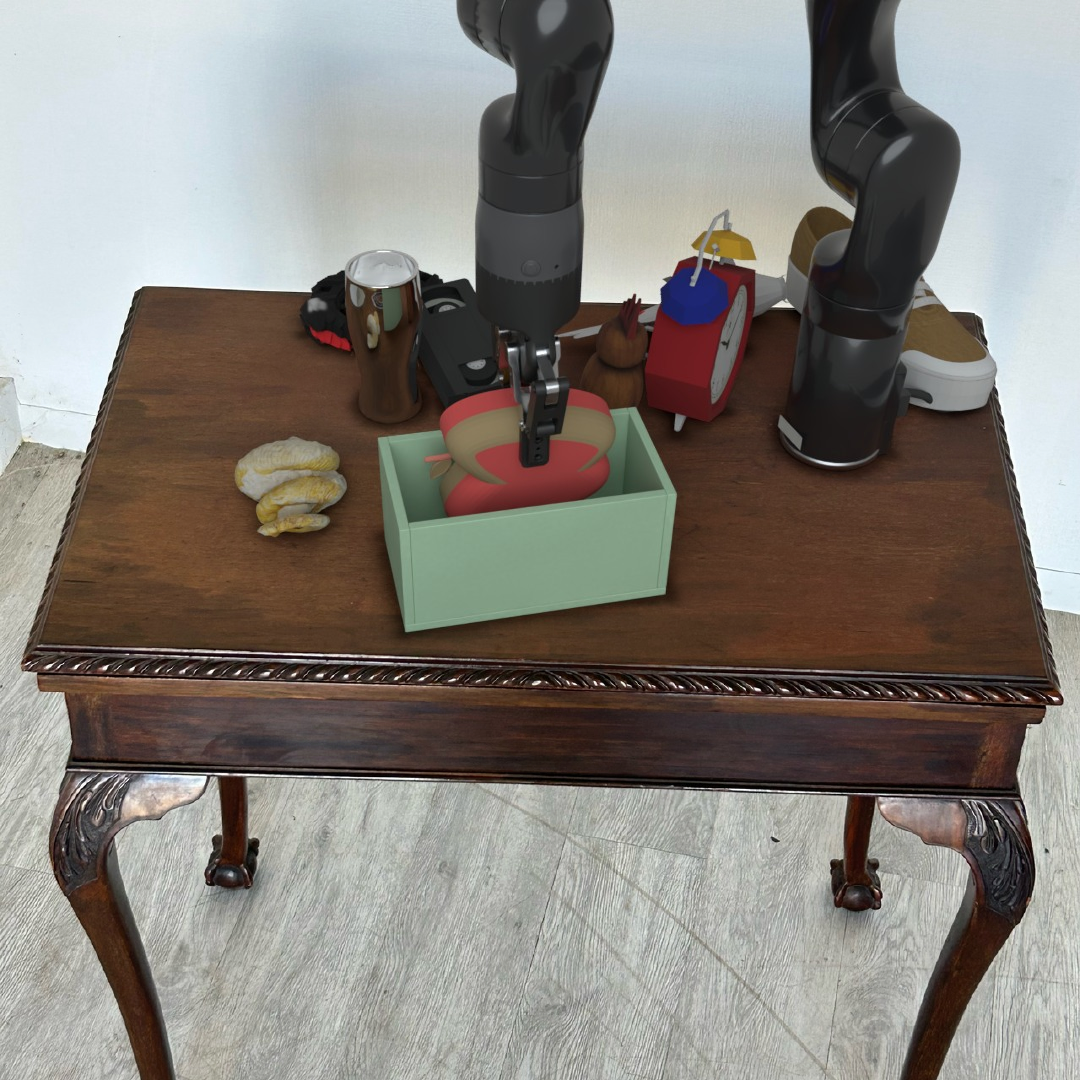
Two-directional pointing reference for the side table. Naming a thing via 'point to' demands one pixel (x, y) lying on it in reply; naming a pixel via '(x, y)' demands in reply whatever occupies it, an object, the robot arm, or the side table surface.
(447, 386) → the vhs tape
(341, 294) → the toy
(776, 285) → the fish
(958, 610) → the side table surface
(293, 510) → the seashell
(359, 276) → the beer glass
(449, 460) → the decorative object
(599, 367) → the wooden figurine
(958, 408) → the sneaker
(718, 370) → the alarm clock
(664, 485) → the bin
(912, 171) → the robot arm
